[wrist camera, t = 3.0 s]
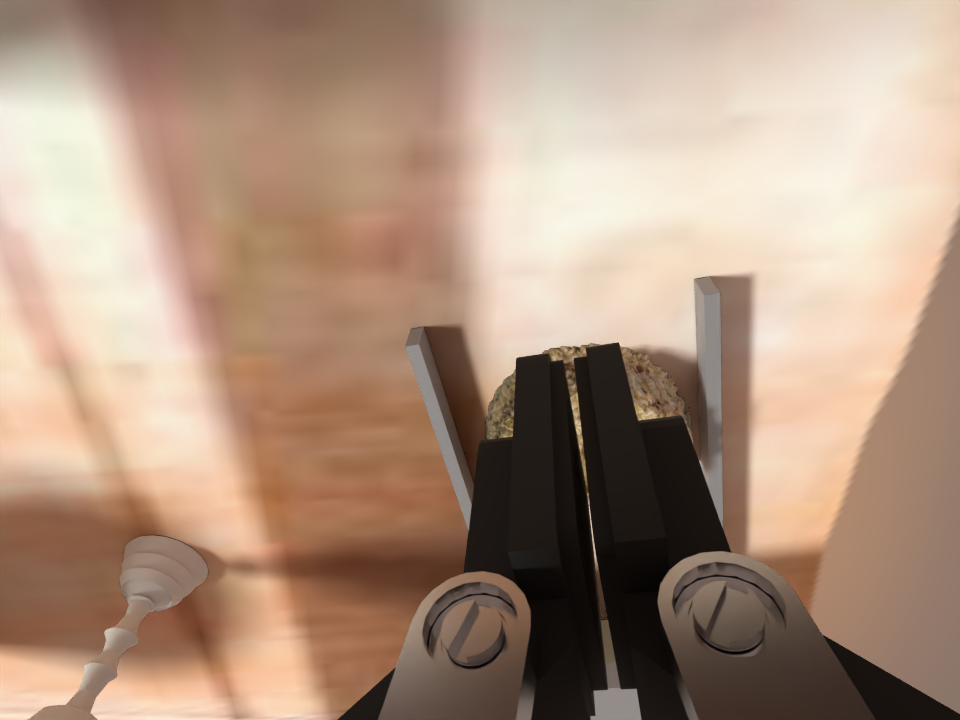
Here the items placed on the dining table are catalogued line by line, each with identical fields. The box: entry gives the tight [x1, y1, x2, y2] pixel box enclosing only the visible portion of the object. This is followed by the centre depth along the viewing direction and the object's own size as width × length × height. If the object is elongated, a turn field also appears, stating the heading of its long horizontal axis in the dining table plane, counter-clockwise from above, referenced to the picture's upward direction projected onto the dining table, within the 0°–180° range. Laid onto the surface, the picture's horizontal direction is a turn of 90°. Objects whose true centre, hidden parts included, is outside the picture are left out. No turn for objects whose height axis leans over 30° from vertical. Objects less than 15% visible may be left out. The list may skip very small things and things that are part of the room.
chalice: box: [28, 535, 208, 720], centre depth 28 cm, size 7×7×18 cm
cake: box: [485, 343, 695, 506], centre depth 27 cm, size 10×10×5 cm
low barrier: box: [405, 277, 723, 720], centre depth 28 cm, size 23×13×8 cm, turn 13°
